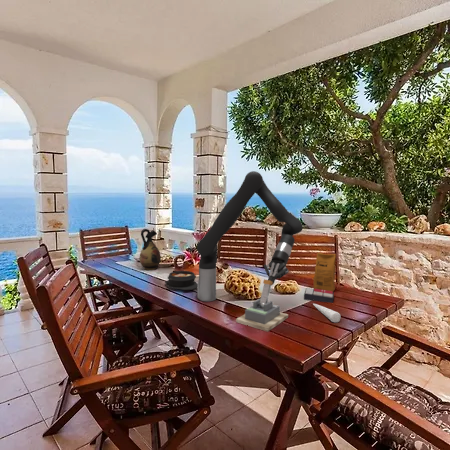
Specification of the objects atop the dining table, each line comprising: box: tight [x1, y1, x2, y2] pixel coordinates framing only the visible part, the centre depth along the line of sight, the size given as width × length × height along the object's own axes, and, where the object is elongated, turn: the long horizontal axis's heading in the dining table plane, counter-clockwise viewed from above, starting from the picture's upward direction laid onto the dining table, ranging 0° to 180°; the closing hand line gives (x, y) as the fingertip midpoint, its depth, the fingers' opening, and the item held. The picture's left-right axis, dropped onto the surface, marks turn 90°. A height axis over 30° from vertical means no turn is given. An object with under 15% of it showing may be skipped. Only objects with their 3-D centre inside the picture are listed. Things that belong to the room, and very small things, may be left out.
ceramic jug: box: [139, 228, 162, 271], centre depth 239 cm, size 17×15×30 cm
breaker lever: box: [258, 278, 274, 307], centre depth 147 cm, size 3×4×12 cm
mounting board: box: [235, 311, 289, 333], centre depth 147 cm, size 19×16×2 cm
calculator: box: [303, 287, 335, 304], centre depth 177 cm, size 11×4×15 cm
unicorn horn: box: [312, 303, 342, 324], centre depth 156 cm, size 5×24×5 cm, turn 6°
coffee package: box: [312, 252, 337, 292], centre depth 191 cm, size 10×12×22 cm
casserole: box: [164, 270, 198, 291], centre depth 195 cm, size 25×19×8 cm
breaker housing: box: [244, 298, 281, 324], centre depth 146 cm, size 14×10×7 cm
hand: (269, 284), depth 150 cm, fingers closed
